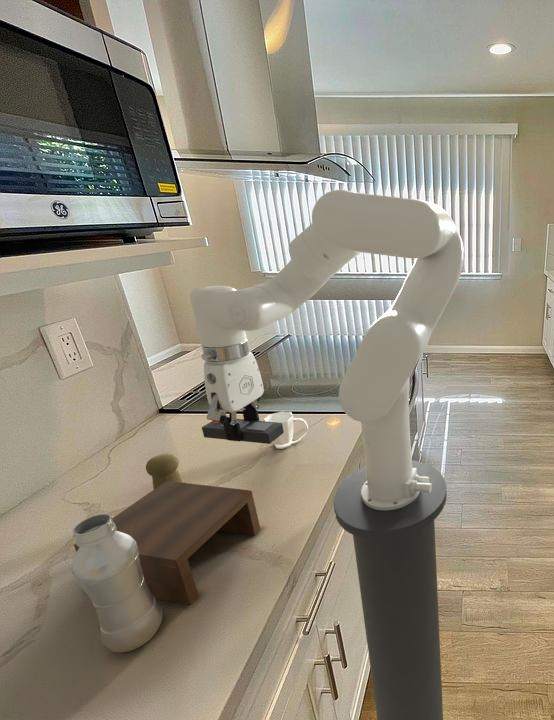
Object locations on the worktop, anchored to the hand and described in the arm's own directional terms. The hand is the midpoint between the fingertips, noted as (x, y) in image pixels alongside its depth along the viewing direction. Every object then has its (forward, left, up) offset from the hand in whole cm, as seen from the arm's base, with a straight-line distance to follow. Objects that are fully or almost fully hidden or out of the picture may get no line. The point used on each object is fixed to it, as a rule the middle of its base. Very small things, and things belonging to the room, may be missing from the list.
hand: (244, 432), depth 82 cm
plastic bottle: (-6, +32, -14) cm, 36 cm away
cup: (+4, -18, -14) cm, 23 cm away
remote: (0, 0, -1) cm, 1 cm away
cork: (+14, +7, -14) cm, 21 cm away
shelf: (0, +19, -14) cm, 24 cm away
